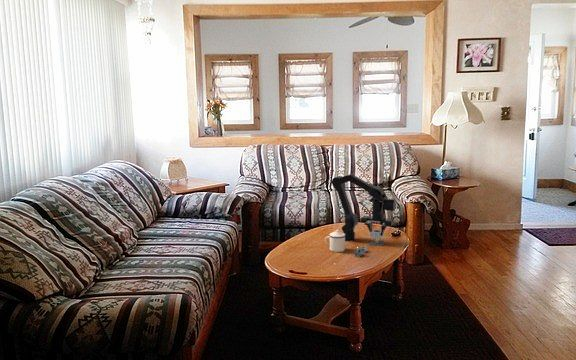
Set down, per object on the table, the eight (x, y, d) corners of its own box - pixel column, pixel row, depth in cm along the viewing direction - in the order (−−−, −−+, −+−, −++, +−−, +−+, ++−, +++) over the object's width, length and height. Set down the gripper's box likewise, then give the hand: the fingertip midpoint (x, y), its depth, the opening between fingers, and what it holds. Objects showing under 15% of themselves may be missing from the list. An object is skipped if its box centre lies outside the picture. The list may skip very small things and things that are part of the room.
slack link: (364, 252, 271) (364, 248, 270) (359, 252, 272) (359, 248, 271) (366, 250, 274) (366, 246, 274) (362, 250, 275) (362, 246, 275)
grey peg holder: (369, 245, 284) (369, 236, 283) (370, 241, 292) (370, 232, 291) (383, 245, 282) (383, 237, 281) (383, 241, 290) (383, 233, 289)
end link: (379, 238, 282) (380, 233, 282) (370, 237, 285) (370, 231, 284) (383, 236, 287) (383, 230, 287) (373, 234, 290) (373, 229, 290)
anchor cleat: (359, 257, 264) (359, 248, 263) (354, 256, 265) (354, 247, 264) (363, 254, 268) (363, 246, 267) (358, 253, 269) (358, 245, 269)
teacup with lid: (347, 248, 278) (347, 228, 276) (342, 253, 270) (342, 233, 268) (328, 245, 284) (328, 226, 282) (322, 250, 276) (322, 230, 274)
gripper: (397, 208, 286) (396, 233, 288) (367, 204, 295) (366, 229, 297) (391, 212, 276) (390, 238, 279) (360, 208, 285) (359, 234, 288)
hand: (376, 235), depth 286 cm, fingers closed on end link, 6 cm apart
